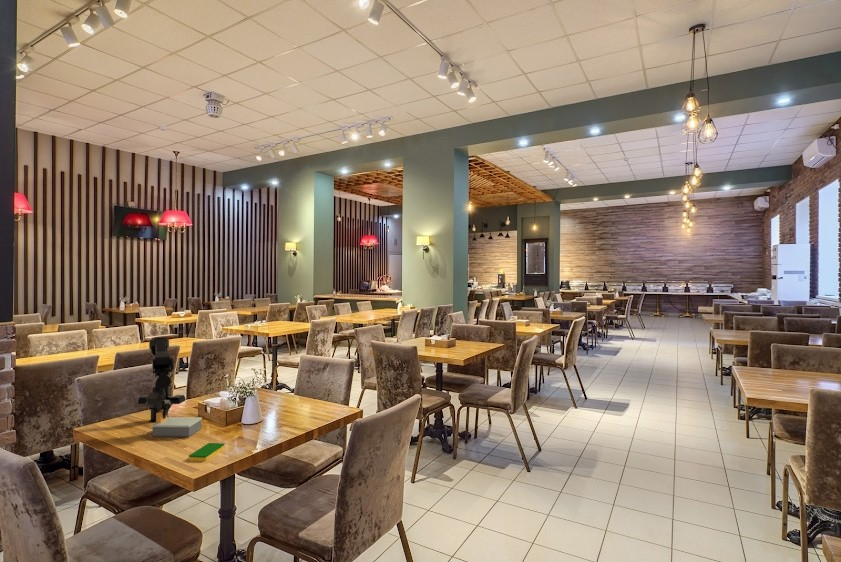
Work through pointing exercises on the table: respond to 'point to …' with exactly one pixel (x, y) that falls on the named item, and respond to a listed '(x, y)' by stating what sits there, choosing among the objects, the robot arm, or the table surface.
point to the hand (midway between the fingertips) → (161, 418)
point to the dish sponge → (206, 452)
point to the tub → (176, 431)
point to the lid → (174, 421)
